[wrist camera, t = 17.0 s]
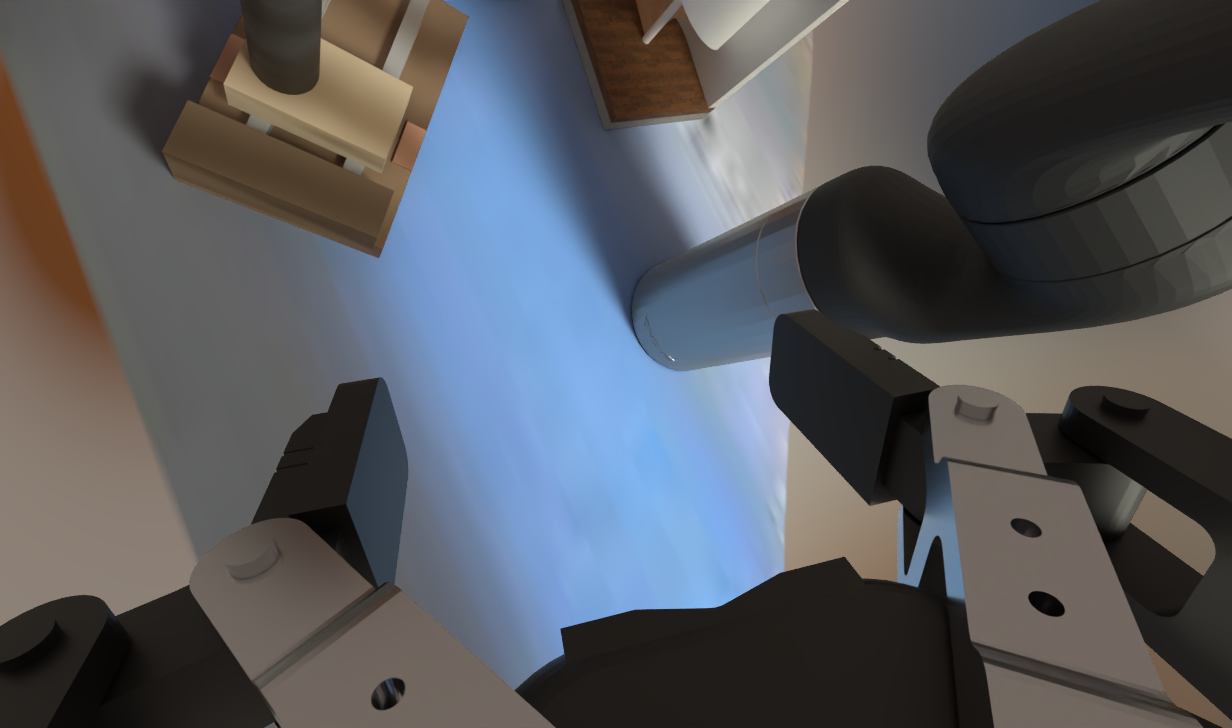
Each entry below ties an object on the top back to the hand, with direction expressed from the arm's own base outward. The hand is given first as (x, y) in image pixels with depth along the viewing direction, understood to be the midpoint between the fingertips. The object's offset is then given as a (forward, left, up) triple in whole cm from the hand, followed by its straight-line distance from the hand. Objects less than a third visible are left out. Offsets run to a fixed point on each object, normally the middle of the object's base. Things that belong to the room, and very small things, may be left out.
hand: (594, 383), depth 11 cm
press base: (-8, -19, -27) cm, 34 cm away
